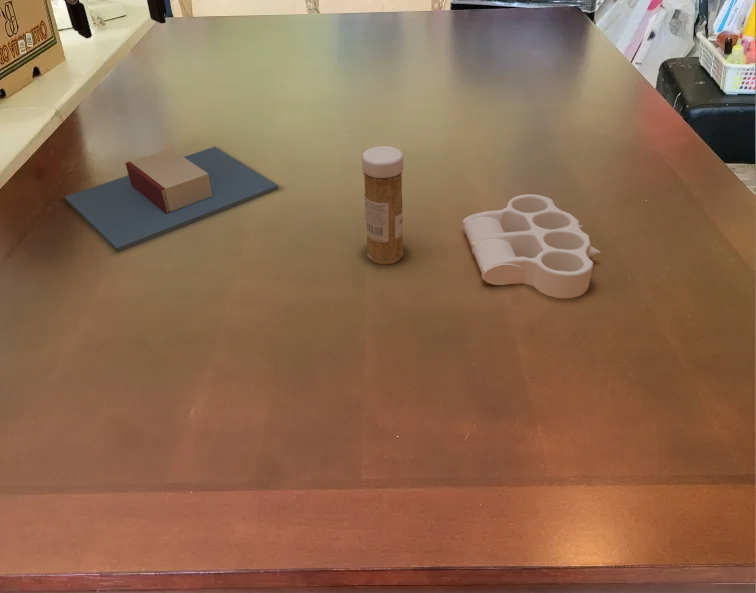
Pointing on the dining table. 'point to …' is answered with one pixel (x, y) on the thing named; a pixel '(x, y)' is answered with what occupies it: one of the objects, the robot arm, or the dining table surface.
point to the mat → (147, 221)
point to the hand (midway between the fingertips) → (122, 28)
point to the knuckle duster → (532, 247)
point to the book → (169, 180)
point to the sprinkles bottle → (383, 203)
